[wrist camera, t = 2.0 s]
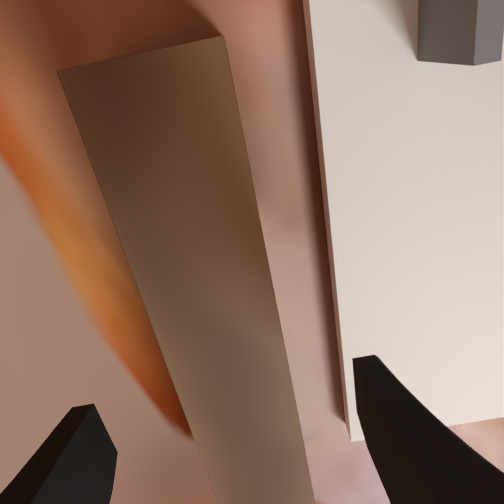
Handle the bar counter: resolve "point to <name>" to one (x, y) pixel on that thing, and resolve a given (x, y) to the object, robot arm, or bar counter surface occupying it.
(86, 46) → the bar counter surface
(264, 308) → the rail
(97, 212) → the bar counter surface
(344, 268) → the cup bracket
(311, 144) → the bar counter surface
